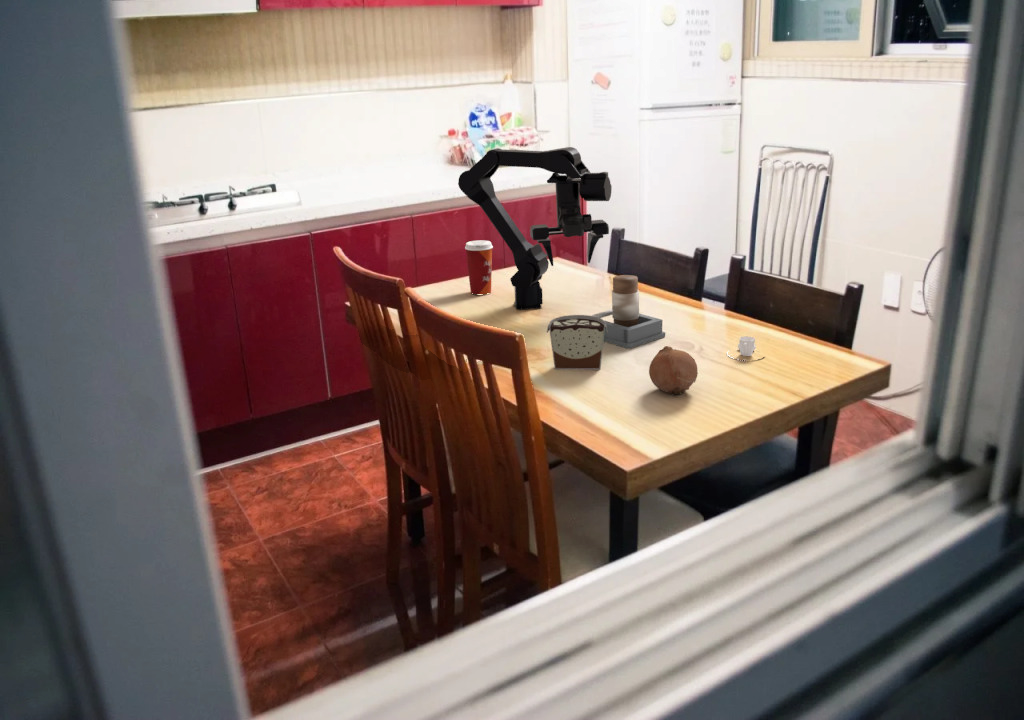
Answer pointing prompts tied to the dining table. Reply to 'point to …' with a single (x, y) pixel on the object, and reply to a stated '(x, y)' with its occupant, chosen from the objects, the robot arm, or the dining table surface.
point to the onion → (673, 370)
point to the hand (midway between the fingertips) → (570, 264)
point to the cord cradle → (632, 331)
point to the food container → (577, 341)
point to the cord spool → (625, 300)
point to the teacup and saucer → (746, 346)
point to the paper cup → (479, 266)
